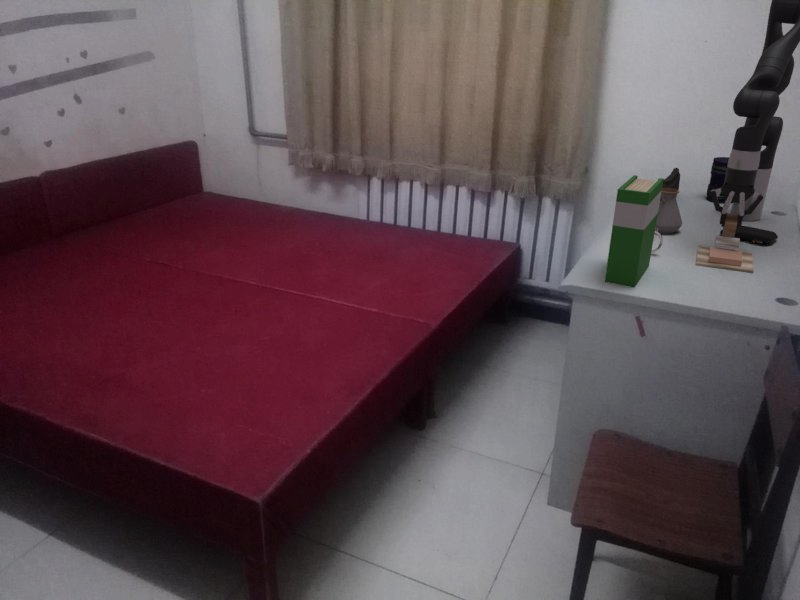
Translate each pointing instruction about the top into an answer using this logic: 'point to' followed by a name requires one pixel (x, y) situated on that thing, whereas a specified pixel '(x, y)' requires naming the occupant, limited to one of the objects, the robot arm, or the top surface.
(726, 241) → the brown rectangular block
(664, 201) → the coffee pot
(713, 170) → the storage jar
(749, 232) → the carrying case or bag
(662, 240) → the ring
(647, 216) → the hardback book
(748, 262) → the board
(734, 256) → the tile
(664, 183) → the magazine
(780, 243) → the top surface
